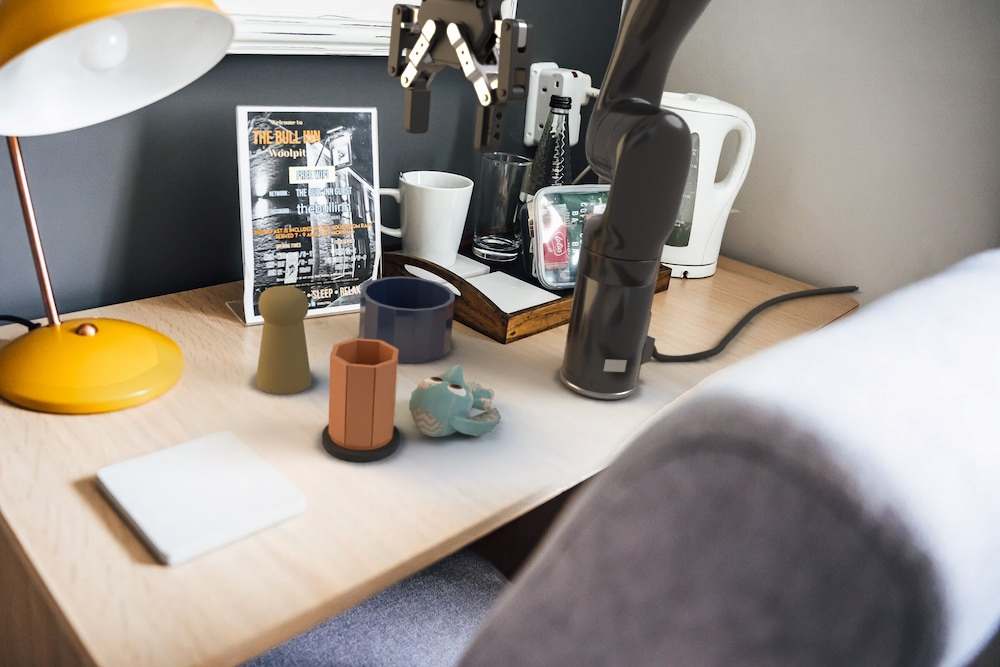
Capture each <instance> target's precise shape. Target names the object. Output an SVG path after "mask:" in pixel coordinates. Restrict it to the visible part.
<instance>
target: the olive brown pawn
mask: <svg viewBox="0 0 1000 667" xmlns="http://www.w3.org/2000/svg"><path fill="white" fill-rule="evenodd" d="M309 307H310V306H309V299H308V296H307V294H306V293H305V292H304V290H302V289H300V288H298V287H294V286H290V285H289V286H288V285H277V286H271V287H269V288H267V289H265V290H263V291H262V292H261V294H260V296H259V299H258V312H259V315H260V316H261V317H262V318H263V325H262V332H261V340H260V347H259V353H258V354H259V355H258V362H257V370H256V377H255V385H256V386H257V388H258V389H259V390H261V391H263V392H264V393H265V392H266V393H268V394H273V395H291V394H296V393H300V392H302V391H305V390H307V389H308V388H309V387H310V386H311V384H312V376H311V368H310V360H309V353H308V346H307V339H306V331H305V324H304V323H305V322H304V319H305V318H306V316H307V315H308V312H309Z"/></svg>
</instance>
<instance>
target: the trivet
mask: <svg viewBox="0 0 1000 667" xmlns="http://www.w3.org/2000/svg"><path fill="white" fill-rule="evenodd" d="M322 430H323V431H322V433H321V444H322V446H323V448H324V450H325V451H326V452H327V453H328V454H329V455H331V456H333V457H335V458H336V459H340V460H343V461H346V462H353V463H370V462H375V461H379V460H384V459H385V458H387V457H390V456H391V455H393V454H394V453H395V452H396V451H397V450H398V449H399V446H400V439H401V434H400V431H399V429H398V428H397V426H396V425H394V429H393V437H392V439H391V441H390V442H389V443H387V444H386V445H384V446H382V447H380V448H377V449H372V450H351V449H347V448H344V447H341V446H339V445H337V444H336V443H335V442H334V441H333V440H332V439H331V437H330V435H329V433H328V431H329V423H328V424H327V425H326V426H325V428H323V429H322Z"/></svg>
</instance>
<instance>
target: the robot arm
mask: <svg viewBox="0 0 1000 667" xmlns="http://www.w3.org/2000/svg"><path fill="white" fill-rule="evenodd" d="M504 1H506V0H421V3H420V5H415V4H410V3H395V4H394V5H393V7H392V15H391V26H390V37H389V49H388V61H387V73H388V75H389V76H390V77H391V78H396V79H397V80H399V81H400V84H401V86H402V87H403V88H404V99H403V100H404V101H403V123H404V131H405V132H406V133H409V134H413V135H419V134H426V133H428V131H429V125H430V111H431V110H430V109H431V94H432V90H431V89H427V88H429V87H430V85H431V84H432V82H433V80H434V79H435V77H436V76H437V74H438V73H439V72H440V71H442V70H444V69H445V68H446V67H450V68H451V69H453V70H457V71H458V70H459V71H463V73H464V76H465V78H466V79H467V80H468V81H470V82H471V83H472V85H473V87H474V89H475V92H476V94H477V97H478V100H479V102H480V104H481V105H479V104H478V105H477V112H476V123H475V134H474V142H473V143H474V144H473V148H474V151H475V152H477V153H481V154H489V153H496V152H497V150H498V149H499V147H500V146H501V144H502V141H503V136H504V126H505V117H506V109H507V107H508V106H509V105H510V104H512V103H515V102H523V101H526V100H527V99H528V98H529V94H530V93H529V91H530V80H531V79H530V78H531V68H532V67H531V66H532V54H533V53H532V52H533V37H534V24H533V22H532V21H531V20H530V19H519V18H508V17H506V18H503V16H502V5H503V2H504ZM624 2H625V3H624V7H623V11H622V14H621V18H620V22H619V27H618V30H617V31H618V32H617V36H616V39H615V43H614V47H613V50H612V53H611V57H610V60H609V63H608V66H607V68H606V72H605V74H604V78H603V80H602V83H601V86H600V89H599V92H598V94H597V98H596V101H595V103H594V106H593V109H592V113H591V115H590V119H589V122H588V126H587V129H586V133H585V142H584V146H585V156H586V159H587V163H588V165H589V167H590V168H591V169H592V171H593V172H594V173H595V174H596V175H597V176H598V177H600V178H602V179H604V180H605V181H607V182H609V183H610V186H609V192H608V196H607V200H606V204H605V207H604V211H603V212H602V213H599V214H595V215H591V216H590V217H589V218H587V220H585V222H584V225H583V230H582V237H581V242H580V248H579V249H580V250H579V255H578V262H577V269H576V276H575V282H574V287H573V294H572V300H571V301H572V302H571V308H570V313H569V319H568V327H567V334H566V339H565V344H564V345H565V346H564V351H563V358H562V365H561V368H560V370H559V371H560V372H559V379H560V381H561V383H562V385H564V386H565V387H567V389H569V390H571V391H573V392H575V393H577V394H579V395H583V396H586V397H588V398H593V399H600V400H620V399H625V398H628V397H630V396H632V395H633V394H634V393H635V392H636V389H637V385H638V382H639V379H640V374H641V370H642V366H643V365H644V364H647V363H649V362H650V361H652V358H653V359H654V360H656V361H658V362H662V363H688V362H695V361H700V360H703V359H707V358H712V357H714V356H716V355H718V354H720V353H722V352H723V351H724V350H725V348H727V347H728V345H729V343H730V342H731V341H732V340H733V339H735V337H736V336H737V335H738V334H739V333H740V332H741V330H743V329H744V327H746V325H747V324H748V323H749V322H750V321H751V320H752V319H753V318H754V317H756V315H758V314H759V313H760V312H762V311H763V310H765V309H767V308H768V307H770V306H773V305H775V304H778V303H781V302H784V301H787V300H793V299H796V298H802V297H807V296H808V297H809V296H815V295H824V294H835V293H843V292H844V293H845V292H856V291H857V292H858V291H859V289H860V287H859V286H858V287H856V286H855V285H844V286H830V287H822V288H813V289H812V288H811V289H805V290H799V291H793V292H790V293H785V294H782V295H779V296H775V297H773V298H770V299H768V300H766V301H764V302H762V303H761V304H759V305H757V306H756V307H754V308H752V309H751V310H750V311H749V312H747V314H746V315H745V316H743V318H742V319H740V321H738V322H737V323H736V324H735V326H734V327H733V328H732V329H731V330H730V331H729V332H728V333H727V334H726V335H725V336H724V337H723V338H722V339H721V341H720V342H719V343H718V344H717V345H716V346H715V347H712V348H710V349H707V350H702V351H699V352H694V353H690V354H681V355H671V354H670V355H669V354H663V353H659V352H658V350H657V346H656V345H655V343H656V338H655V337H653V336H651V335H649V330H650V324H651V319H652V307H653V302H654V296H655V292H656V288H657V281H658V276H659V271H660V266H661V262H662V255H663V251H664V248H665V244H666V242H667V241H668V239H669V238H670V236H671V235H672V233H673V231H674V229H675V227H676V224H677V220H678V217H679V213H680V209H681V206H682V202H683V198H684V193H685V190H686V186H687V182H688V178H689V174H690V169H691V165H692V158H693V136H692V132H691V129H690V127H689V125H688V122H686V120H685V119H684V118H683V117H682V116H681V115H679V114H678V113H677V112H675V111H672V110H670V109H667V108H664V107H661V105H662V100H663V95H664V91H665V88H666V84H667V80H668V76H669V73H670V71H671V67H672V64H673V62H674V59H675V57H676V55H677V53H678V51H679V49H680V47H681V46H682V44H683V42H684V41H685V39H686V38H687V36H688V35H689V33H690V32H691V31H692V29H693V28H694V27H695V25H696V24H697V22H698V21H699V20H700V18H701V16H702V15H703V13H704V12H705V11H706V10H707V8H708V6H709V5H710V4H711V2H712V0H625V1H624ZM497 45H498V46H499V48H497V47H496V46H497ZM405 49H406V50H405ZM498 49H499V50H498ZM404 50H405V59H404V62H402V61H403V52H404ZM484 63H485V64H484Z"/></svg>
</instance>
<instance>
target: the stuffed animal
mask: <svg viewBox="0 0 1000 667" xmlns="http://www.w3.org/2000/svg"><path fill="white" fill-rule="evenodd" d="M494 397H495V391H494V390H493V388H491V387H484V388H483V386H482V385H481V384H480V383H476V382H475V381H473V380H472V381H471V380H470V381H467V382H465V380H464V371H463V367H462V365H460V364H455V365H453V366H451V367H450V368H449V369H447V370H446V371H445V372H443V373H442V374H439V375H437V376H430V377H428V378H425V379H423V380H421V382H420V383H418V384H417V386H416V388H415V389H414V390H413V391H411V396H410V399H409V403H408V410H409V411H410V414H411V417H412V420H413V423H414V425H415V427H416V429H418V430H419V431H420V432H421V433H422V434H424V435H426V436H429V437H434V438H440V437H447V436H450V435H452V434H455V433H457V432H459V433H461V434H464V435H470V436H474V437H479V436H482V435H486V434H488V433H491V432H493V430H494V429H495V428H496V427H497V425H498V424H500V422H501V420H502V416H501V414H500V412H499V410H498V409H497V408H496V407H494V408H493V402H492V400H493V399H494ZM472 409H476V410H478V411H483V412H481V413H479V414H477V415H474V416H471V417H470V415H471V413H472Z"/></svg>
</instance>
